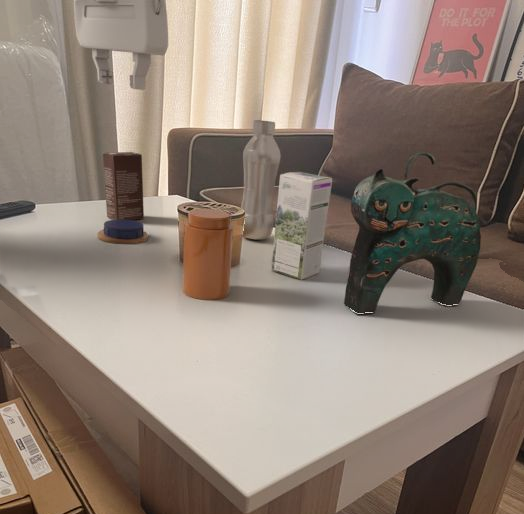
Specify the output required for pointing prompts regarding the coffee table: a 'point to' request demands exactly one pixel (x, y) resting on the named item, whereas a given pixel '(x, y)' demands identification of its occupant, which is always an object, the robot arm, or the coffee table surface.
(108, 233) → the jar lid
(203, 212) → the jar
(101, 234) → the coaster
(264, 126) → the metal water bottle
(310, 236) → the syrup box
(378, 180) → the ceramic cat
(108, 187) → the box
